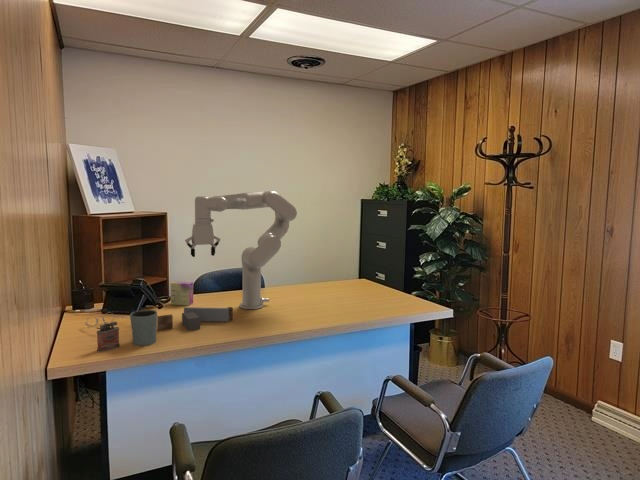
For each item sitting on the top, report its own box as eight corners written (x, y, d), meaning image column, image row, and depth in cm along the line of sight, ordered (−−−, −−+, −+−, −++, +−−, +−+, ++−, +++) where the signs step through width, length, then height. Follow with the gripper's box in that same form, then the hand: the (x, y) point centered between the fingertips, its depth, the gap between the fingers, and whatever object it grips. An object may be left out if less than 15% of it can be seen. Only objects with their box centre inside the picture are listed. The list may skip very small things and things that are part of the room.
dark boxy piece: (193, 323, 197) (192, 311, 196) (200, 329, 188) (200, 317, 188) (182, 324, 194) (181, 313, 193) (188, 331, 186) (188, 318, 185)
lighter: (99, 352, 159) (98, 326, 158) (95, 349, 162) (94, 324, 160) (121, 346, 165) (120, 321, 164) (117, 344, 167) (116, 319, 166)
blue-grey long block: (229, 319, 201) (229, 307, 201) (228, 321, 199) (228, 308, 198) (185, 319, 201) (185, 306, 200) (184, 320, 198) (183, 308, 197)
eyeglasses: (116, 320, 198) (115, 310, 198) (141, 328, 189) (140, 317, 188) (81, 329, 185) (81, 318, 184) (106, 338, 175) (106, 326, 174)
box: (193, 303, 230) (193, 281, 229) (189, 305, 225) (189, 283, 223) (175, 302, 231) (174, 280, 230) (170, 304, 226) (170, 282, 224)
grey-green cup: (145, 348, 164) (144, 317, 163) (124, 344, 168) (123, 314, 167) (163, 339, 174) (162, 311, 173) (143, 336, 177) (142, 308, 176)
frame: (231, 319, 204) (231, 306, 203) (232, 320, 202) (232, 307, 201) (157, 329, 186) (157, 316, 186) (158, 330, 185) (158, 317, 184)
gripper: (217, 220, 218) (217, 254, 220) (183, 221, 209) (183, 255, 211) (222, 221, 211) (222, 256, 213) (187, 222, 202) (187, 258, 204)
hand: (203, 256), depth 212 cm, fingers open, 9 cm apart
